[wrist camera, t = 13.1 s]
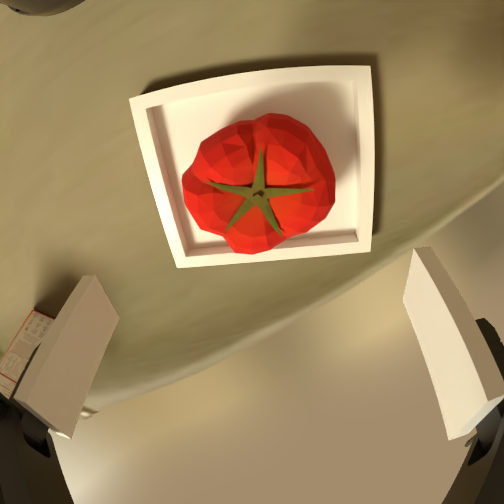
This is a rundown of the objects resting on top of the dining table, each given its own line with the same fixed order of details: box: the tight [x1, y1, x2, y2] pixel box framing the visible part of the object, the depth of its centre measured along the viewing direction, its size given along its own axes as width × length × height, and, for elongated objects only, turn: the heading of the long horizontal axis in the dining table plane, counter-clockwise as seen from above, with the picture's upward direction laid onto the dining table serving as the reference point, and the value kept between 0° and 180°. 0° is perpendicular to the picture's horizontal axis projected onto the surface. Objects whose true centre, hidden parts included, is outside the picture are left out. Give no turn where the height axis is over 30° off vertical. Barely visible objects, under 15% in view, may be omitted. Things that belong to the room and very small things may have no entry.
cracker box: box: [0, 310, 55, 399], centre depth 34 cm, size 14×6×21 cm, turn 163°
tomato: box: [181, 113, 336, 255], centre depth 22 cm, size 10×11×7 cm
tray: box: [129, 65, 375, 268], centre depth 24 cm, size 16×18×2 cm
